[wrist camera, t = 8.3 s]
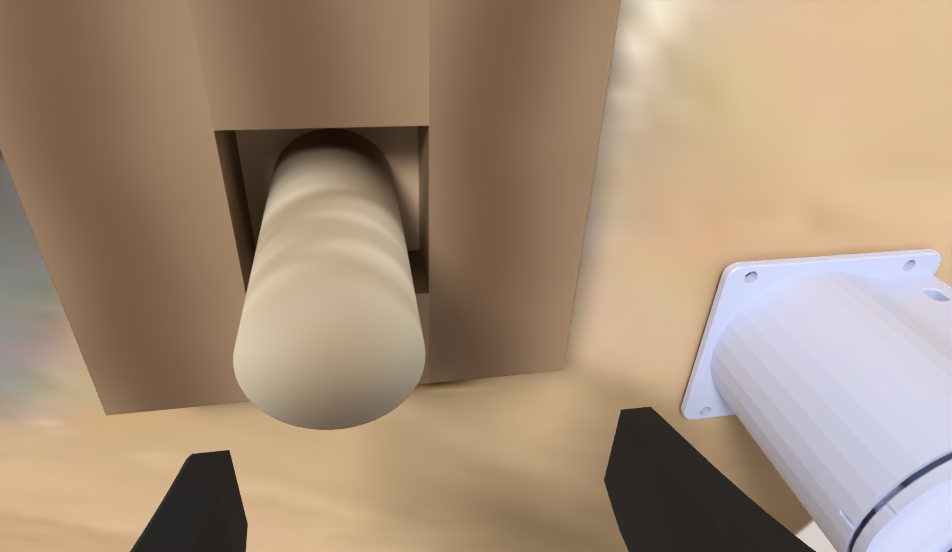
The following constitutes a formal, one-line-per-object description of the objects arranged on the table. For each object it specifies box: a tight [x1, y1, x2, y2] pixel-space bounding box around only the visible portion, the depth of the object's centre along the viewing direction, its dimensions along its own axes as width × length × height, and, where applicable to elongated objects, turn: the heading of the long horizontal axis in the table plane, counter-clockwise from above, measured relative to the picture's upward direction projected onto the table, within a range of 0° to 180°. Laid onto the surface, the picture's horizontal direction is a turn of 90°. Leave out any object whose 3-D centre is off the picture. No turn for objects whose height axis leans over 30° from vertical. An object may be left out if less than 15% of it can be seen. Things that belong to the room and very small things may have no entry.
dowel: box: [233, 128, 425, 430], centre depth 15 cm, size 4×4×8 cm
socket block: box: [0, 0, 621, 415], centre depth 17 cm, size 14×12×3 cm
